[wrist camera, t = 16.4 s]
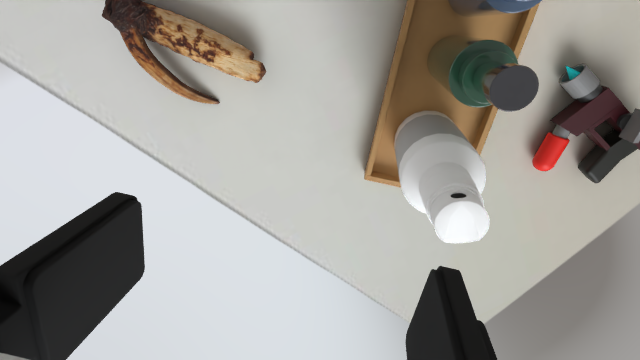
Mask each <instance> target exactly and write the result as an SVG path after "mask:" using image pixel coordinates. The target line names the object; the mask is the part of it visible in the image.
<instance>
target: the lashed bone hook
mask: <svg viewBox="0 0 640 360" xmlns="http://www.w3.org/2000/svg"><path fill="white" fill-rule="evenodd" d="M102 16H103V17H104V18H105V19H107V20H108V21H110V22H111V23H112V24H113V25H114V27H115V28H117V29H118V30H119V31H120V33H121V35H122V38H123V40H124V42H125V44H126V46H127V48H128V49H129V51H130V52H131V54H132V56H133V57H134V58H135V60H136V61H137V62H138V63H139V65H140V66H141V67H142V68H143V69H144V70H145V71H146V72H147V73H149V74H150V75H151V76H152V77H153V78H154V79H156V80H157V81H158V82H159V83H161V84H162V85H164V86H165V87H167V88H168V89H170V90H171V91H173V92H175V93H176V94H178V95H181V96H183V97H185V98H188V99H191V100H194V101H197V102H202V103H209V104H219V103H220V102H219V101H218V100H216V99H214V98H212V97H210V96H208V95H205V94H203V93H201V92H199V91H197V90H195V89H193V88H191V87H189V86H187V85H186V84H184V83H183V82H181V81H180V80H179V79H178V78H177V77H176V76H174V75H173V74H172V73H171V72H170V71H169V70H168V69H167V68H165V67H164V66H163V65H162V64H161V63H160V62H159V61H158V59H157V58H156V57H155V56H154V55H153V53H152V52H151V51H150V49H149V48H148V46H147V44H146V42H145V40H144V38H143V36H144V37H145V38H147V39H148V40H150V41H152V42H157V43H158V44H160V45H162V46H165V47H168V48H170V49H171V50H173V51H174V52H176V53H180V54H182V55H184V56H187V57H190V58H191V59H192V60H193V61H196V62H199V63H203V64H205V65H208V66H210V67H214V68H216V69H218V70H220V71H222V72H224V73H226V74H229V75H232V76H235V77H239V78H242V79H244V80H246V81H253V82H255V83H257V82H259V81H260V80H261V79H262V77H263V76H264V75H265V73H266V69H265V67H264V65H263V63H261V62H259V61H257V60H253V58H254V54H253V52H252V51H249V50H248V49H247V48H245V47H244V46H243V45H240V44H238V43H235V42H233V41H232V40H231V39H230V38H228V37H227V36H224V35H222V34H220V33H218V32H216V31H214V30H212V29H209V28H207V27H206V26H204V25H202V24H200V23H198V22H196V21H194V20H191V19H188V18H186V17H184V16H182V15H179V14H175V13H174V12H172V11H169V10H165V9H161V8H158V7H156V6H154V5H151V4H147V3H145V2H142V1H141V0H106V1H105V7H104V10H103V14H102Z"/></svg>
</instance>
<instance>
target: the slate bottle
mask: <svg viewBox="0 0 640 360" xmlns="http://www.w3.org/2000/svg"><path fill="white" fill-rule="evenodd" d="M541 1H542V0H448V2H449V4H450V6H451V8H452V9H453V10H454V11H455V12H456V13H457V14H459V15H461V16H465V17H475V16H487V15H499V14H511V13H519V12H523V11H526V10H528V9H530V8H532V7H534V6H535V5H537V4H538V3H540V2H541Z"/></svg>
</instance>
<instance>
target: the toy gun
mask: <svg viewBox="0 0 640 360" xmlns="http://www.w3.org/2000/svg"><path fill="white" fill-rule="evenodd" d="M565 66H566V65H565ZM566 69H567V72H566V73H565V74H563V75H562V77H561V78H560V79H559V83H560V84H561V86H562V87H563V88H564V89H565V90H566V91H567V92H568V93H569V94H570V95H571V97H572V98H574V99H577V100H576V101H574V102H573V103H572V104H570V105H569V106H568V107H567V108H565V109H564V110H563V111H562V112H560V113H559V114H558V115H556V116H555V117H554V118H553V119H551V120H550V121H552V122H553V123H555V124H557V125H556V127H555V129H554V130H553V132H549V133H548V134H547V135H546V137H545V139H544V140H543V142H542V144H541V146H540V147H539V149H538V151H537V152H536V154H535V156H534V158H533V160H532V163H533V166H534V167H535V168H536V169H538V170H540V171H548V170H550V169H552V168H553V167H554V165H555V164H556V162H557V160H558V159H559V157H560V156H561V154H562V152H563V151H564V149H565V148H566V146H567V144H568V143H569V139H568V136H569V134H570V133H572V134H574V135H576V136H578V135H580V134H581V133H582V132H584V133H585V134H586V135H587V136H588V137H589V138H590V139H591V140H592V141H593V143H594V144H595V145H596V146H595V147H594V148H593V149H592V151H591V152H590V153H589V154H588V155H587V156H586V157H585V158H584V159H583V160H582V161H581V163H580V164H579V165H578V168H579V170H580V171H581V172H582V173H583V174H584V175H585V176H586V177H587V178H588V179H590V180H591V181H592V182H594V183H599V182H600V181H601V180H602V179H603V178H604V177H605V176H606V175H607V174H608V173H609V172H610V171H611V170H612V169H613V168H614V167H615V166H616V165H617V164H618V163H619V161H620V160H622V159H623V158H625V157H626V156H628V155H629V154H631V153H632V152H634V151H635V150H637V149H639V150H640V109H636V108H635V110H634V112H633V113H632V114H631V113H630V112H629V111H628V110H627V109H626V108H625V107H624V105H623V104H622V102H621V101H620V100H619V99H618V98H617V97H616V96H615V94H614V93H613V92H612V91H611V90H610V89H609V88H608V87H604V86H600V84H599V83H600V80H599V79H598V78H597V77H596V76H595V74H594V73H593V72H592V71H591V70H590V69H589V68H588V66H587V65H586V64H580V65H577V66H575V67H573V68H570V67H568V66H566ZM605 120H606V122H607V123H608V124H609V125H610V126H611V127H612V128H613V129H614V130H613V131H612V132H610V133H609V134H608V135H606V136H605V137H603V138H602V137H601V136H600V135H599V134H598V133H597V132H596V131H595V129H594V128H596V127H597V126H598V125H600V124H601V123H603V122H604V121H605Z"/></svg>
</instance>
